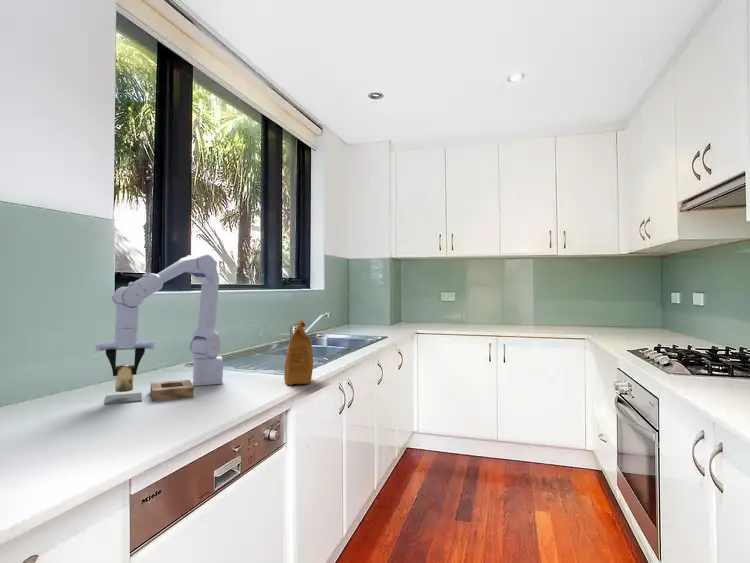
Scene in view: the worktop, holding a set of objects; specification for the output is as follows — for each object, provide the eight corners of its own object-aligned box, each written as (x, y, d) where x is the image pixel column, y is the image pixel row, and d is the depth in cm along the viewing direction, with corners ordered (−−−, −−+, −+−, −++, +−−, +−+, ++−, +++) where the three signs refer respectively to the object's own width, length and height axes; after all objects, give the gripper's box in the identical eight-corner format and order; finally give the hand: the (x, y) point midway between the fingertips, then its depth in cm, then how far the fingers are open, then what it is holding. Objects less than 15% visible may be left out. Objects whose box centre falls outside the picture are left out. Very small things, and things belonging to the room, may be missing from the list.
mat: (141, 393, 127) (141, 392, 127) (141, 401, 119) (142, 399, 119) (106, 397, 122) (106, 395, 122) (104, 405, 115) (104, 403, 115)
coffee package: (312, 378, 156) (314, 319, 156) (312, 386, 144) (314, 322, 144) (285, 378, 154) (287, 319, 155) (283, 386, 142) (285, 322, 142)
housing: (188, 388, 135) (189, 379, 135) (193, 397, 125) (193, 387, 125) (150, 392, 129) (150, 382, 129) (152, 401, 120) (152, 390, 120)
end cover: (134, 388, 123) (135, 363, 124) (130, 391, 119) (131, 366, 119) (118, 388, 122) (119, 364, 122) (112, 392, 118) (113, 366, 118)
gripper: (154, 326, 128) (152, 370, 128) (97, 327, 121) (95, 373, 121) (155, 328, 122) (153, 374, 122) (96, 329, 115) (93, 378, 115)
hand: (124, 374), depth 121 cm, fingers closed on end cover, 4 cm apart
